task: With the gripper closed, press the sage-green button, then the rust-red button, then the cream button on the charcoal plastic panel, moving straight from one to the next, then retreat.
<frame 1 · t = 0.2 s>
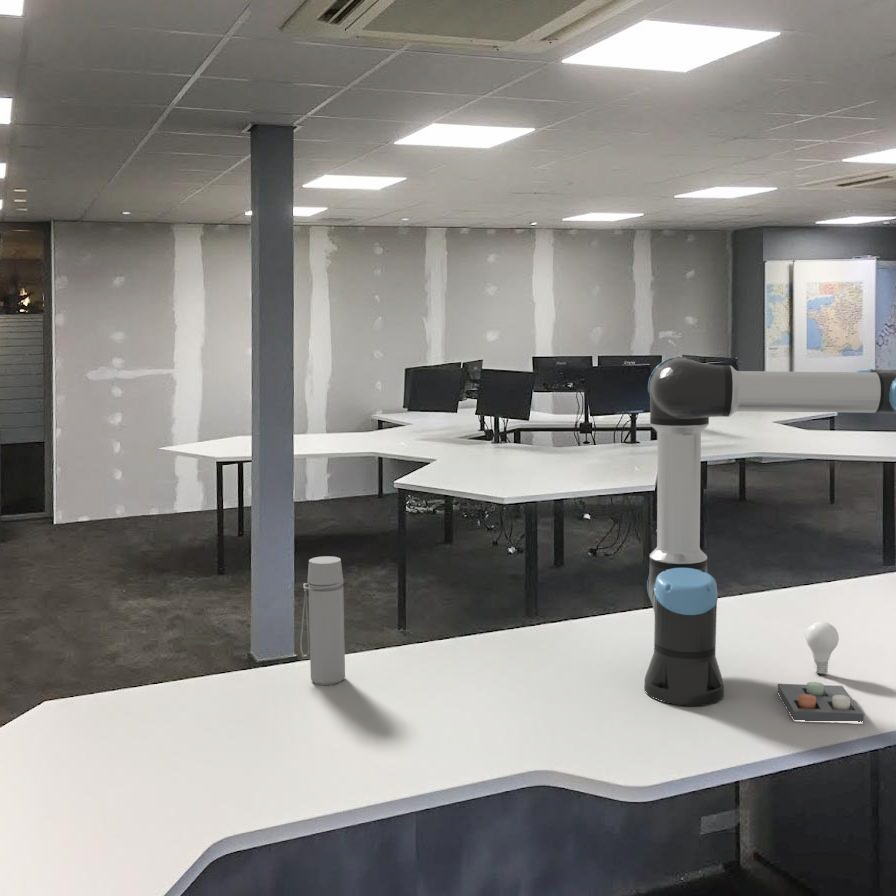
rust button: (807, 702, 182), point 2 cm above the table, slide at 0.0 cm
sage button: (815, 689, 188), point 2 cm above the table, slide at 0.0 cm
water bottle: (323, 680, 202), on the table
lightbulb: (820, 675, 203), on the table
cream button: (841, 703, 181), point 2 cm above the table, slide at 0.0 cm
panel: (818, 708, 185), on the table
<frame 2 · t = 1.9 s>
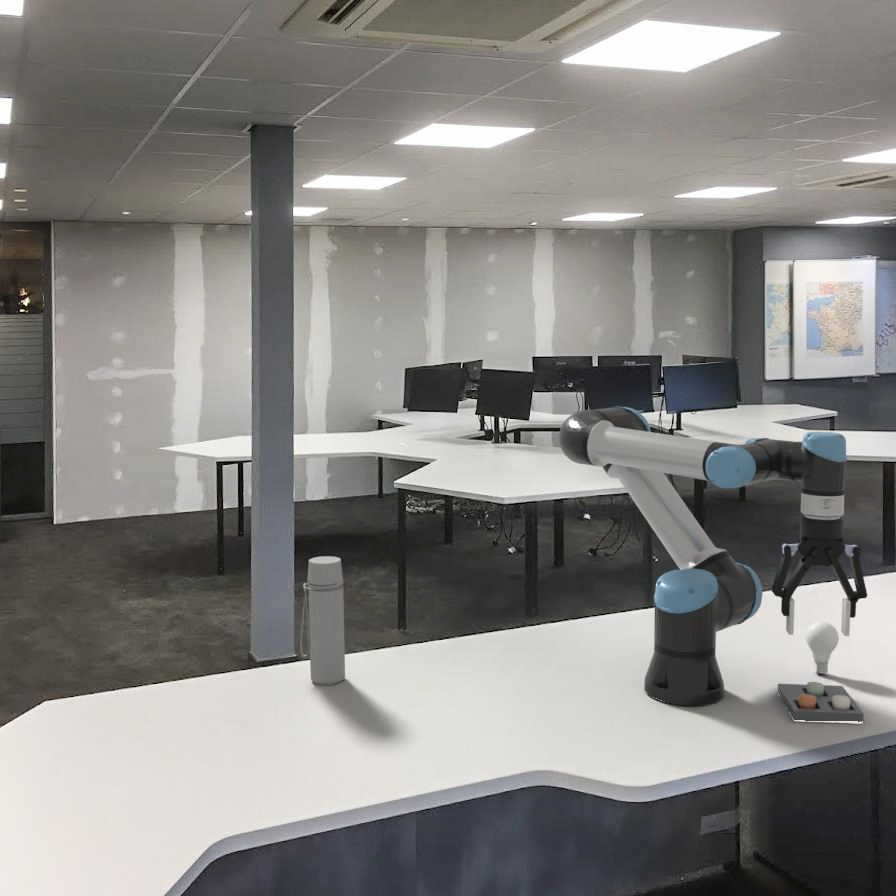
hand: (817, 633, 187), 14 cm above the table, fingers open, 9 cm apart
nothing on the table moved.
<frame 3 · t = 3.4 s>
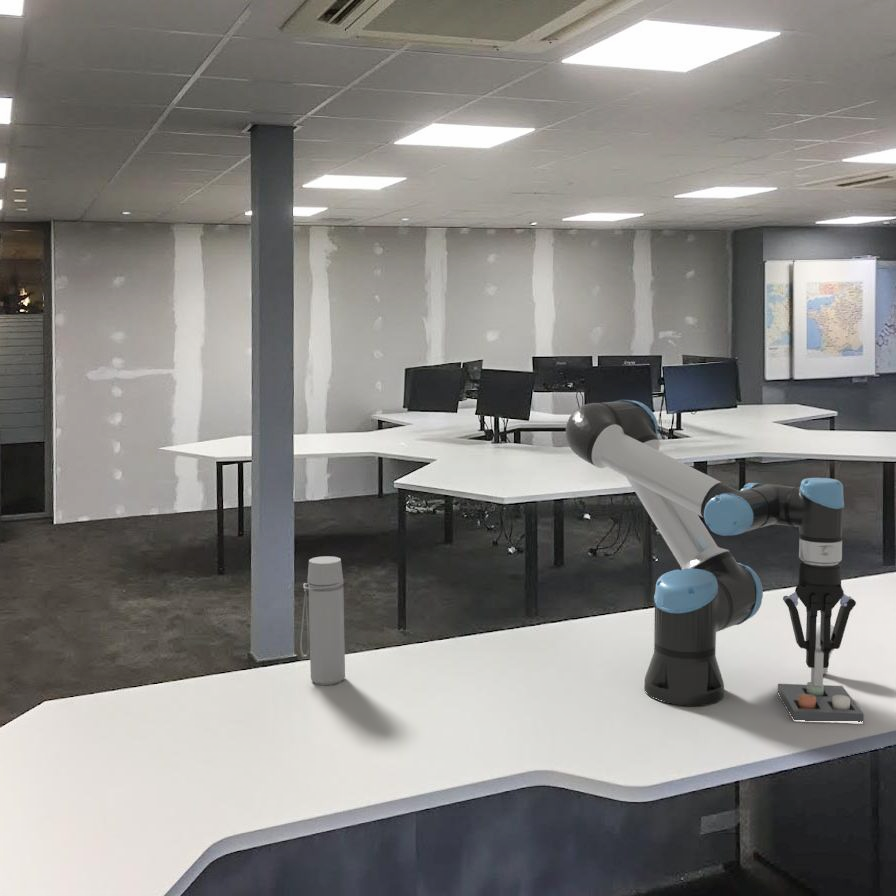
hand: (816, 683, 187), 4 cm above the table, fingers closed
sage button: (815, 689, 188), point 2 cm above the table, slide at 0.0 cm, touching gripper
everything else where it was.
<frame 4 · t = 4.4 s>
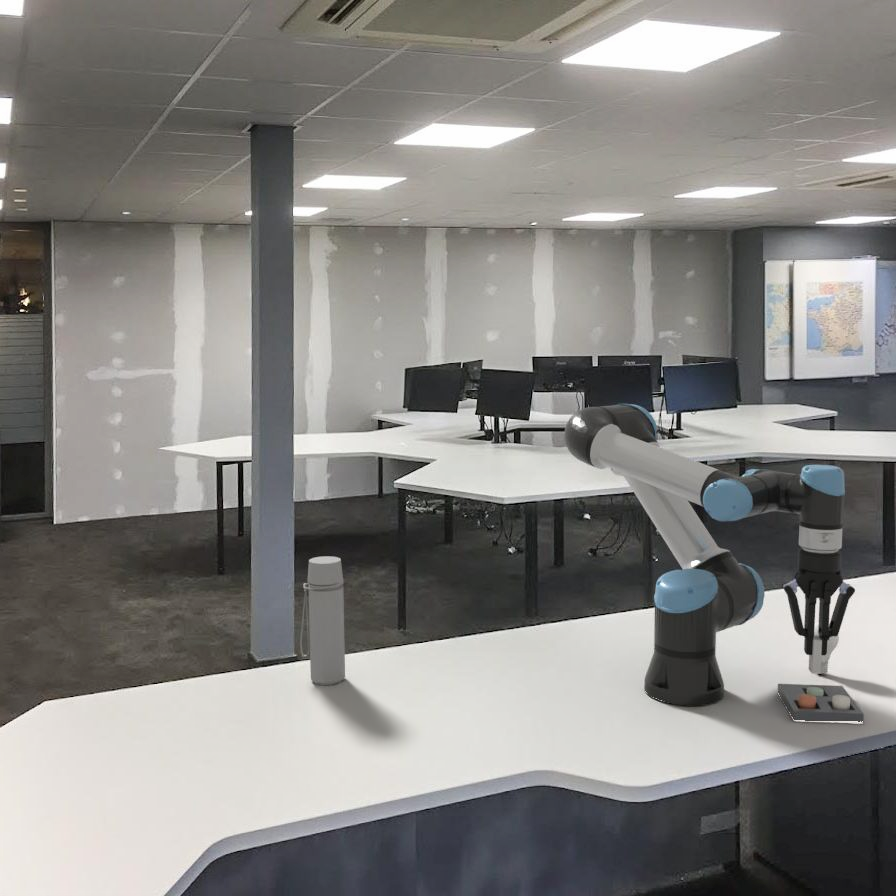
hand: (814, 671, 187), 6 cm above the table, fingers closed
sage button: (814, 694, 188), point 1 cm above the table, slide at 1.0 cm
everything else where it was.
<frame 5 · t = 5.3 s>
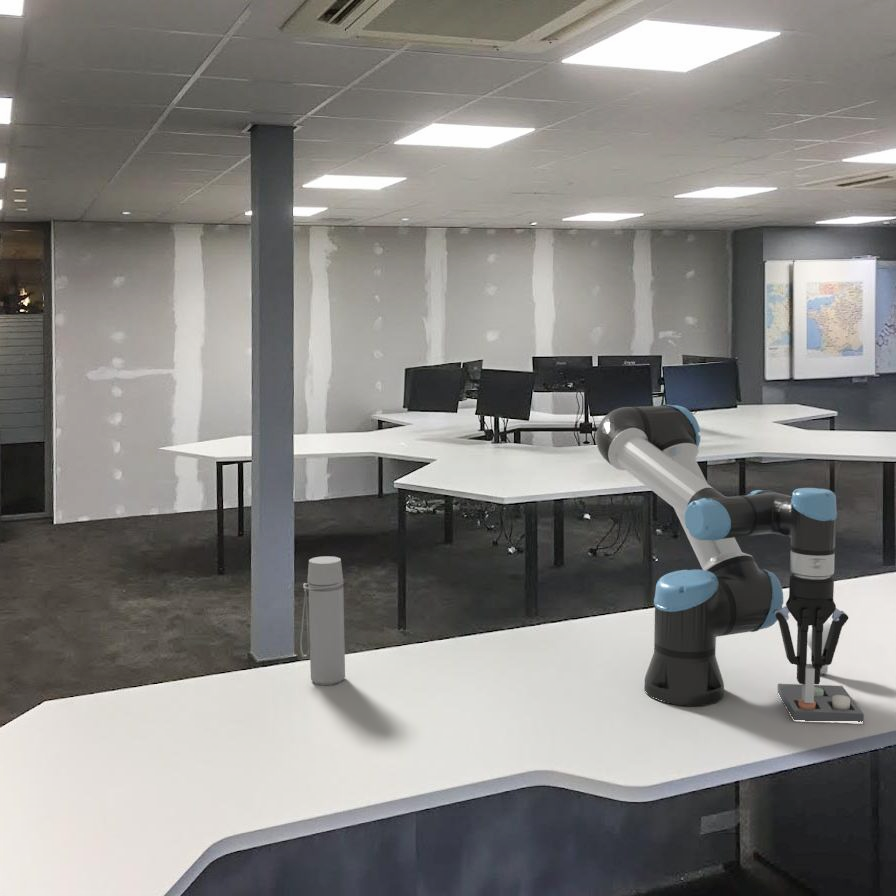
hand: (807, 700, 182), 3 cm above the table, fingers closed
rust button: (806, 707, 182), point 2 cm above the table, slide at 0.9 cm, touching gripper
everything else where it was.
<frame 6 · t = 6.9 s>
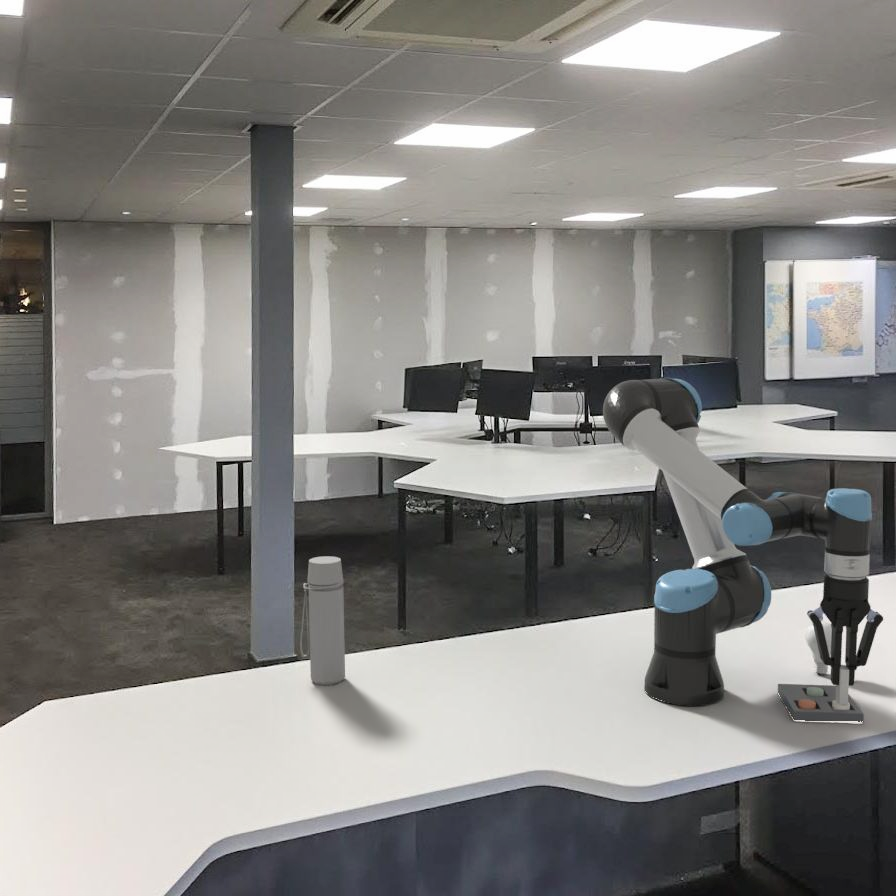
hand: (841, 701, 181), 3 cm above the table, fingers closed
rust button: (806, 707, 182), point 1 cm above the table, slide at 1.0 cm
cream button: (840, 708, 181), point 2 cm above the table, slide at 0.9 cm, touching gripper
everything else where it was.
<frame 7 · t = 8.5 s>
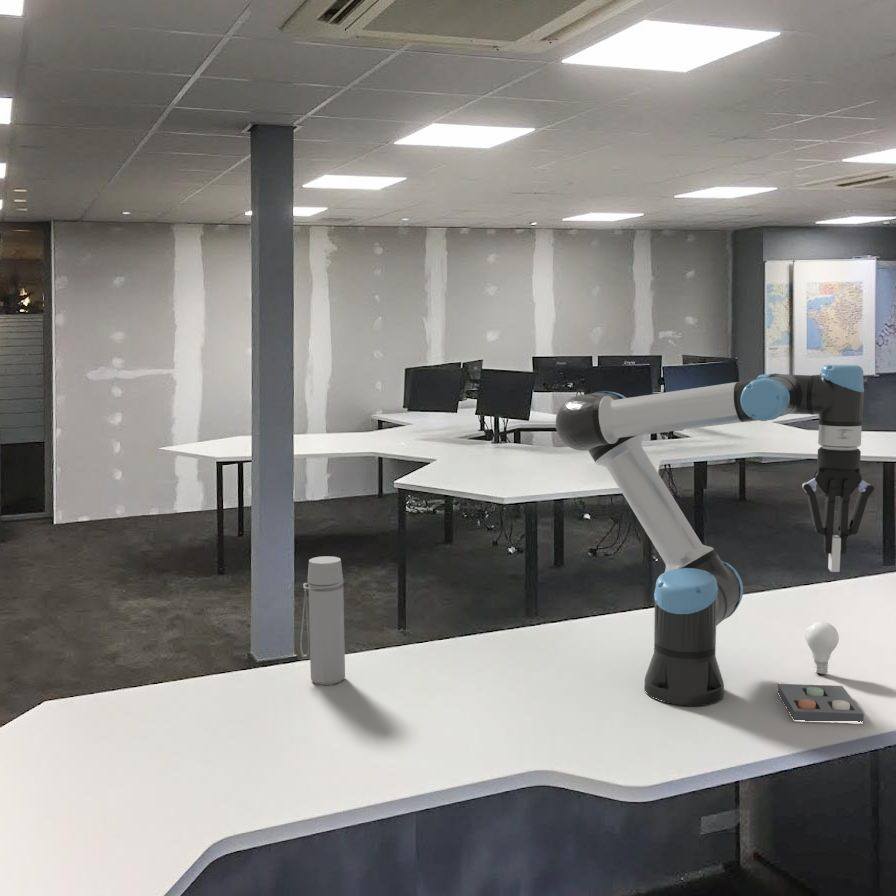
hand: (833, 570, 189), 25 cm above the table, fingers closed
cream button: (840, 708, 181), point 1 cm above the table, slide at 1.0 cm
everything else where it was.
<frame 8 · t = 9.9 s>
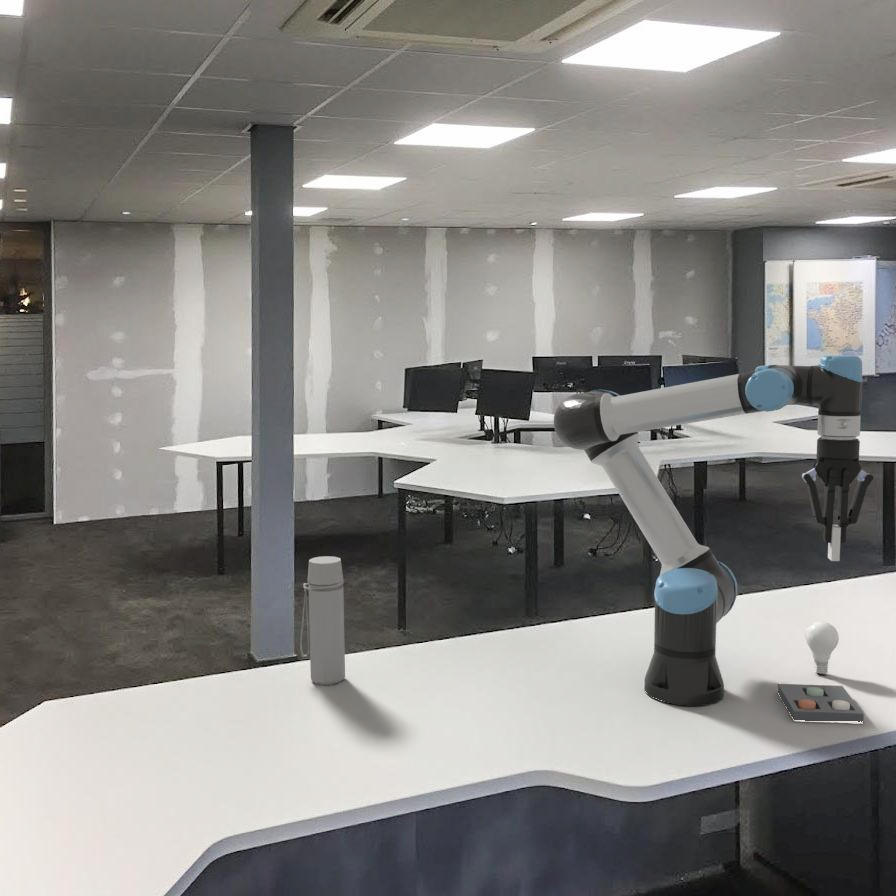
hand: (833, 559, 190), 26 cm above the table, fingers closed
nothing on the table moved.
at the end: sage button slide at 1.0 cm; rust button slide at 1.0 cm; cream button slide at 1.0 cm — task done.
